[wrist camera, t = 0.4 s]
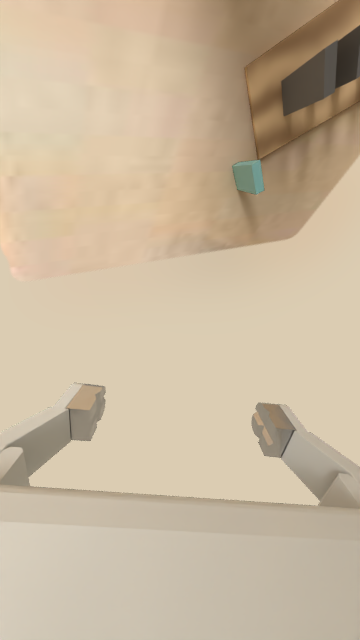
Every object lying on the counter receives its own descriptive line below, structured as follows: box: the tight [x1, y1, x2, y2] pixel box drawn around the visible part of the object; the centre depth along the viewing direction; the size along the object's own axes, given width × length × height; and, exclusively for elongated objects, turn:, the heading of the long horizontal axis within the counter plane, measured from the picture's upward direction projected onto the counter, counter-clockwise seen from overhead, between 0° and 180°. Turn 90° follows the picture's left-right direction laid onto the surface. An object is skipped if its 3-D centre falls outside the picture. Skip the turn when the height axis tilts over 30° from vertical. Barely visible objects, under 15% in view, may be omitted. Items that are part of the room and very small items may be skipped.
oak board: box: [245, 0, 360, 159], centre depth 35 cm, size 14×22×1 cm, turn 116°
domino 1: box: [232, 160, 264, 195], centre depth 39 cm, size 5×2×12 cm, turn 26°
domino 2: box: [281, 40, 338, 116], centre depth 31 cm, size 5×2×12 cm, turn 26°
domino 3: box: [335, 25, 360, 89], centre depth 30 cm, size 5×2×12 cm, turn 26°
